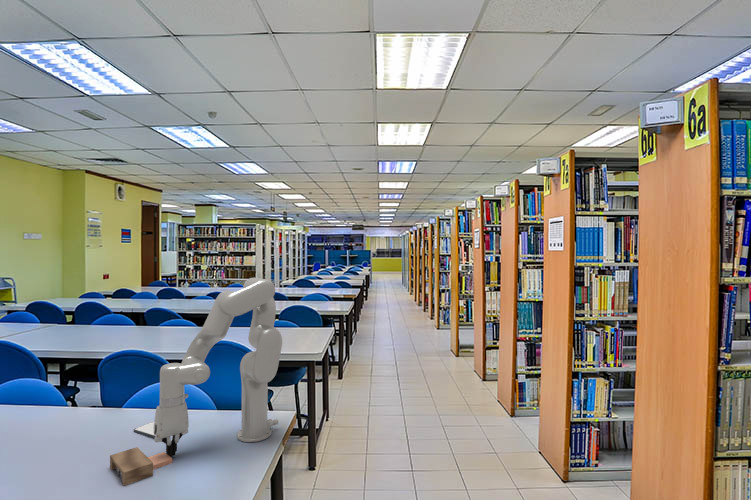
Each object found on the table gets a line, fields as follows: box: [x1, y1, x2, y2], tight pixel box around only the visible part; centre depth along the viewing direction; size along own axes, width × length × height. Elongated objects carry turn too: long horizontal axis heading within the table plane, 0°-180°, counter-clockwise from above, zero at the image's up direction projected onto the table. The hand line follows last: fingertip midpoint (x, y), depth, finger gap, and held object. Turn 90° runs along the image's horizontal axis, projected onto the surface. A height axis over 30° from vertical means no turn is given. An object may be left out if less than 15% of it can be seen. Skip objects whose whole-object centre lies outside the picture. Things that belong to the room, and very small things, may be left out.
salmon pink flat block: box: [147, 451, 173, 471], centre depth 137 cm, size 11×7×2 cm, turn 136°
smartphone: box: [133, 421, 155, 440], centre depth 162 cm, size 9×2×16 cm
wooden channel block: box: [109, 447, 154, 487], centre depth 133 cm, size 8×15×4 cm, turn 46°
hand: (171, 454), depth 141 cm, fingers closed
